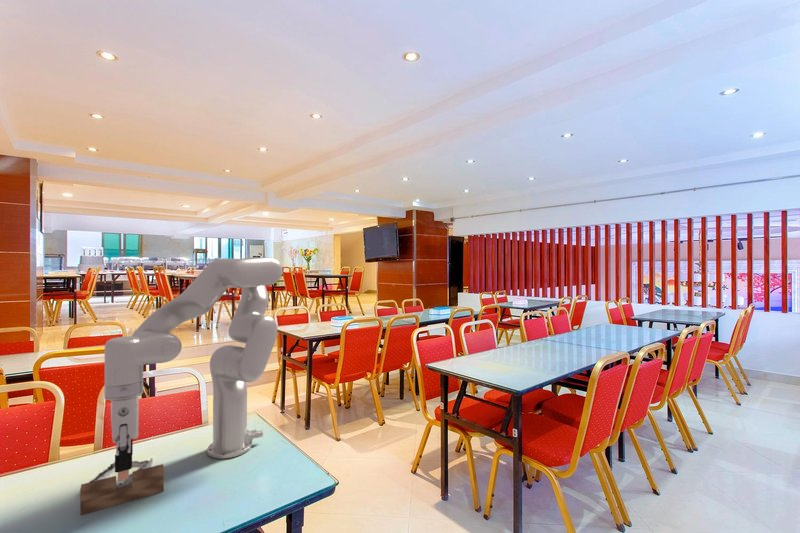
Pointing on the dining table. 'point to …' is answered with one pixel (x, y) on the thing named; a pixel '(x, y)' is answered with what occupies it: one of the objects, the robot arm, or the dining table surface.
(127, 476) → the terracotta board
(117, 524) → the dining table surface
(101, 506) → the walnut base board
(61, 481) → the dining table surface
